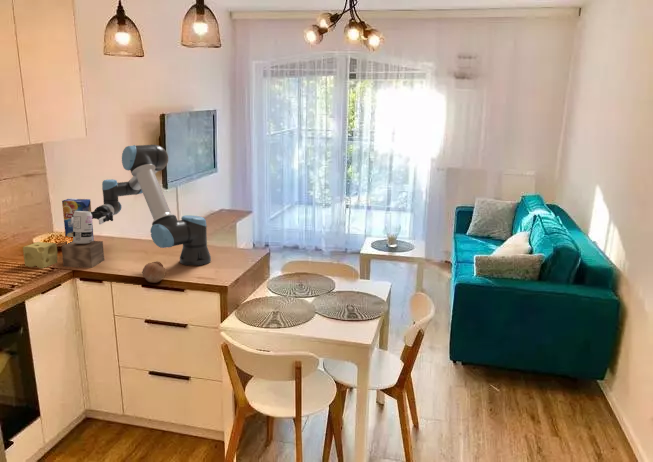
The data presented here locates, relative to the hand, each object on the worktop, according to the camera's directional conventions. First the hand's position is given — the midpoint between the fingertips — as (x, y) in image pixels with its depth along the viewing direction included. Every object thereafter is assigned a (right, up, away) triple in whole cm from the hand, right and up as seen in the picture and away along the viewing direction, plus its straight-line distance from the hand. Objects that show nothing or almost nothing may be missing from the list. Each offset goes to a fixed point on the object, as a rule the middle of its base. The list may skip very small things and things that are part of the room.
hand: (85, 221), depth 252 cm
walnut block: (0, -21, -1) cm, 21 cm away
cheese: (-19, -21, -4) cm, 29 cm away
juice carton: (-19, -11, +34) cm, 41 cm away
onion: (+41, -27, -23) cm, 54 cm away
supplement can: (0, -11, -3) cm, 11 cm away
